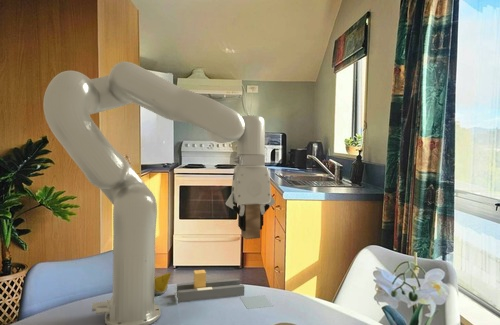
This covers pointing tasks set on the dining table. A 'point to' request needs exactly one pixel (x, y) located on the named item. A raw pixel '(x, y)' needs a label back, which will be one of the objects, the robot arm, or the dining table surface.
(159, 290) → the yellow-filled grey round bowl
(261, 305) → the mat
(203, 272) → the switch tab
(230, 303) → the dining table surface
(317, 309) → the dining table surface
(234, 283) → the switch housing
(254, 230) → the wooden block
